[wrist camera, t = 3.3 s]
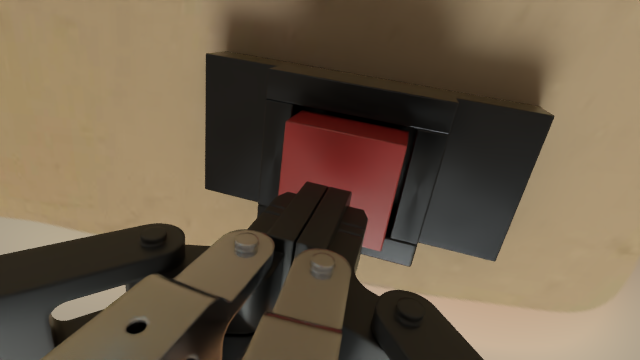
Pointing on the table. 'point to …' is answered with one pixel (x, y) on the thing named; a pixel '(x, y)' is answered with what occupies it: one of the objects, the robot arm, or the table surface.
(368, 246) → the red switch button
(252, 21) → the table surface
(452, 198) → the switch base
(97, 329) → the robot arm
